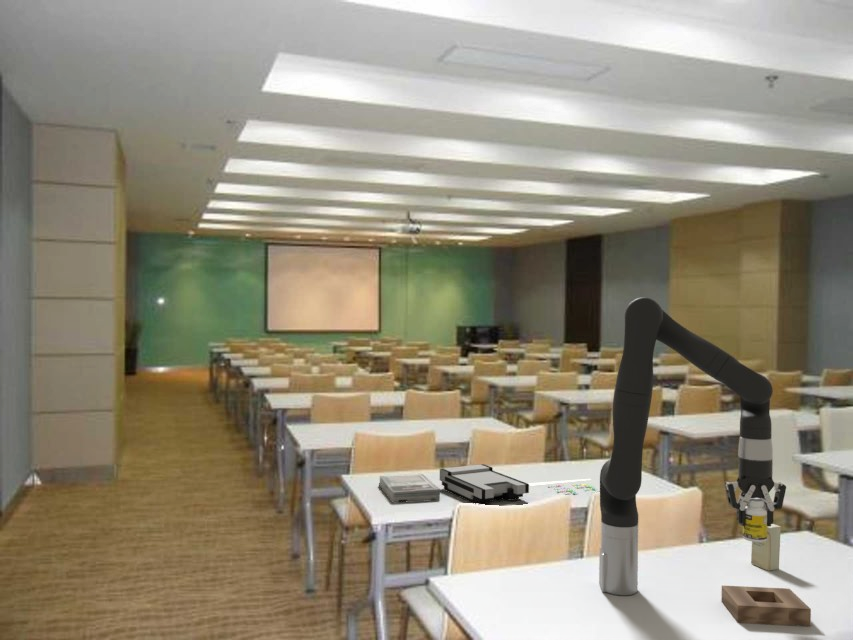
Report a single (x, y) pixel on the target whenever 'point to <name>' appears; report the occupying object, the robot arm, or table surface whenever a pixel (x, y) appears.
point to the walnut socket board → (765, 606)
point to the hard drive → (409, 487)
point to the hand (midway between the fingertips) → (755, 524)
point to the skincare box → (767, 550)
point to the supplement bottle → (755, 521)
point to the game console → (481, 484)
